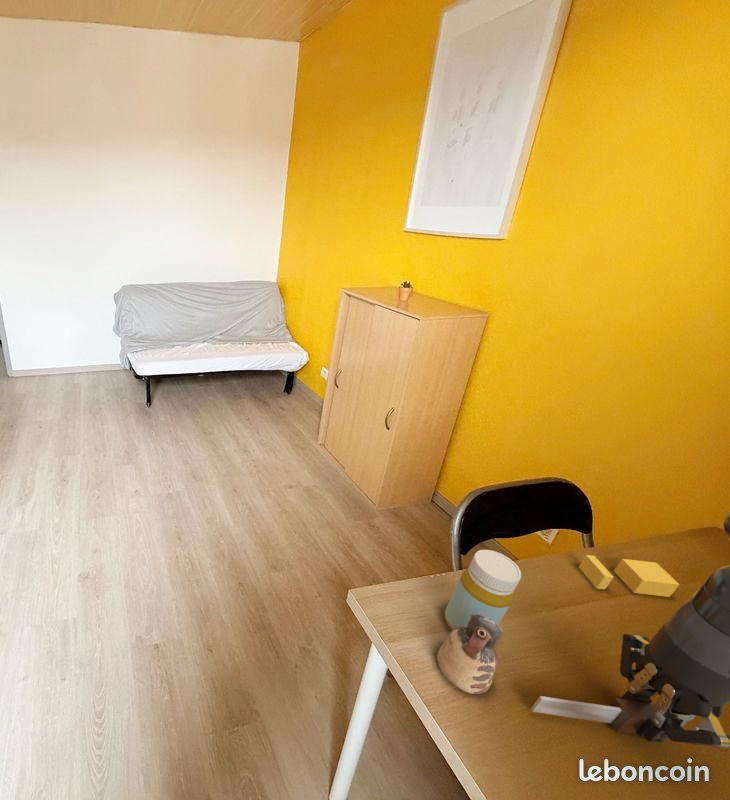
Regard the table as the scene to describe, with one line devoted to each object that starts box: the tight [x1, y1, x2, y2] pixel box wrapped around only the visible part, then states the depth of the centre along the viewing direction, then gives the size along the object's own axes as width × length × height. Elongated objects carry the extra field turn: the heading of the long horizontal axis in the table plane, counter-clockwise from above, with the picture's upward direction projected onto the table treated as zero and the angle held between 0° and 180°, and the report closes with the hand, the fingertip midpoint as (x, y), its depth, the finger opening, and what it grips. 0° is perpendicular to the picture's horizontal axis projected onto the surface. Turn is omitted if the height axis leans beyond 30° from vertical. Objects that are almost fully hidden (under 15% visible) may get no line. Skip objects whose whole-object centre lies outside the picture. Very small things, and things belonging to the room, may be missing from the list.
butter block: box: [613, 558, 680, 598], centre depth 78 cm, size 6×5×4 cm
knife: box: [530, 695, 657, 736], centre depth 56 cm, size 16×2×4 cm, turn 82°
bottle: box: [443, 549, 522, 632], centre depth 67 cm, size 7×7×15 cm
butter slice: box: [578, 554, 614, 590], centre depth 79 cm, size 2×5×4 cm, turn 173°
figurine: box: [436, 614, 504, 695], centre depth 61 cm, size 7×7×12 cm
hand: (636, 723), depth 56 cm, fingers closed on knife, 2 cm apart
